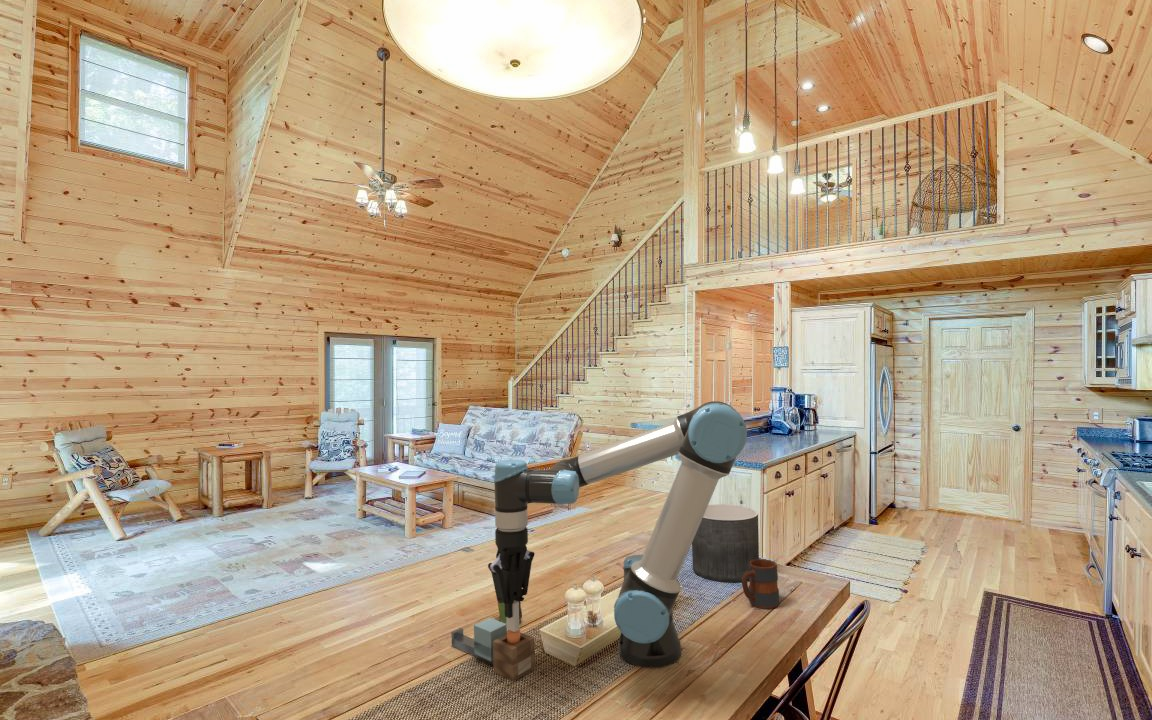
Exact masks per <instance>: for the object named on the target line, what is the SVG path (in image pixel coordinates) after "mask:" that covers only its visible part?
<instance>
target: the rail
mask: <svg viewBox="0 0 1152 720" xmlns="http://www.w3.org/2000/svg"><path fill="white" fill-rule="evenodd" d="M450 634H451V635H450V637H451V647H453V648H456V649H458V650H460V651H462V652H463V653H466V654H468V655H471V656H472V657H475V658H477V659H479V660H481V661H484V662H486V663H487V664H490V665H492V666H493V661H489V660H487V659H485V658H483V657H481V656H478V655H476V654H474V638H473V637H469V636H467V635H465V634H464V628H462V627H459V628H457V629H455V630H453V631H451V633H450Z"/></svg>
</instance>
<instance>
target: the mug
mask: <svg viewBox="0 0 1152 720" xmlns="http://www.w3.org/2000/svg"><path fill="white" fill-rule="evenodd" d="M748 577H749V578H750V579H749V580H748V581H749V586H748V581H747V578H748ZM778 580H779V575H778V565H777V564H776V562H774V561H773V560H768V559H761V558H759V559H757V560H752V561H750V563H749V571H748V572H745V573H744V574H743V576H742V582H741V584H742V586H741V587H742V590H743V593H744V595H745V597H746V598H747V599H748V601H749V603H750V605H751V606H753V607H755V608H759V609H764V610H771V609H775V608H777V607H778V606H779V604H780V590H779V587H778V586H779V585H778Z"/></svg>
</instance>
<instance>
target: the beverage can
mask: <svg viewBox="0 0 1152 720" xmlns="http://www.w3.org/2000/svg"><path fill="white" fill-rule="evenodd" d="M497 607H498V614H499V620H500V622H503V623H505V624H507V623H506V617H505V604H504V603H502V602H499V601H497ZM520 607H521V606H520ZM521 608H522V607H521ZM522 618H523V612H522V610H521V611H520V613H519V621H520V620H521V619H522Z"/></svg>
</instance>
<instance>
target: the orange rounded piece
mask: <svg viewBox="0 0 1152 720" xmlns="http://www.w3.org/2000/svg"><path fill="white" fill-rule="evenodd" d="M520 633H521V630H520V628H519V630H518V631H516V632H513V631H510V630H508V629H507V644H510V645H512V646H513V645H514V644H516V643H518V642H520Z"/></svg>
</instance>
